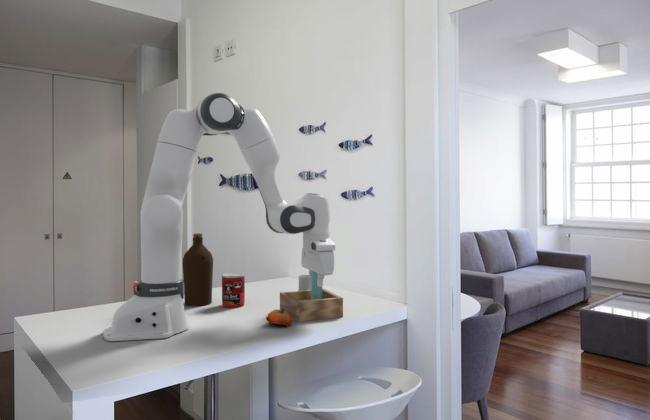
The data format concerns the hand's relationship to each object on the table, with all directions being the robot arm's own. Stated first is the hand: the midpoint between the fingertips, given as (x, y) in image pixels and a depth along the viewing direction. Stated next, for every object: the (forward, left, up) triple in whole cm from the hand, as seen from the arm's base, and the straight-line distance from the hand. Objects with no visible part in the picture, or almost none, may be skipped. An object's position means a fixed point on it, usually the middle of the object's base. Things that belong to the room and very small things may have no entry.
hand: (316, 284), depth 154 cm
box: (-2, 0, -9) cm, 9 cm away
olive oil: (-34, +29, -9) cm, 46 cm away
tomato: (-16, -9, -10) cm, 20 cm away
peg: (0, 0, -5) cm, 5 cm away
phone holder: (+10, +28, -10) cm, 31 cm away
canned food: (-23, +21, -10) cm, 33 cm away
